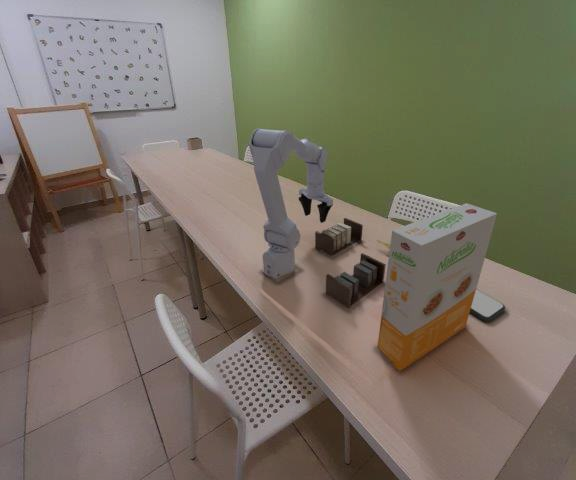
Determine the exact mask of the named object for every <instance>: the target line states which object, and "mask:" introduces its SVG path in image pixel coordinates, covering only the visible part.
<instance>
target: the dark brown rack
mask: <svg viewBox="0 0 576 480" xmlns="http://www.w3.org/2000/svg"><path fill="white" fill-rule="evenodd" d="M343 224H345V225H348V226H350V227H351V239H350V243H348V244H346V243H345V235H346V230H345V229H343V228H340V227H338V226H337V224H335V225H331V227H328V228H326V229H323V230H322V231H321V232H320V231H318V230H316V231H315V233H314V234H315V235H314V250H315V251H317V252H323V253H325V254H326V255H329V256H330V257H333V256H335V255H337V254H339V253H341V252H342V251H345V250H347V249H348V248H350V247H351V246H353V245H355V244H360V243H362V241H363V240H362V238H363V228H364V225H363V224H361V223H359V222H357V221H354V220H352V219H350V218H347V217H344V218H343Z"/></svg>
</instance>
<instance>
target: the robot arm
mask: <svg viewBox="0 0 576 480" xmlns="http://www.w3.org/2000/svg"><path fill="white" fill-rule="evenodd" d="M248 149H249V151H250V155H251V158H252V161H253V171H254V175H255V178H256V179H255V180H256V182H257V185H258V188H259V192H260V196H261V200H262V203H263V206H264V208H265V213H266V216H267V220H266V221H265V222H264V224H263V225H262V227H263V237H264V238H263V239H264V242H266V243H267V244H268V247H269V248H268V249H267V250H266V251H264V252H263V253H262V263H263V265H262V267H263V269H262V273H264V275H266V276H267V277H269V278H272V279H274V280H278V279H279V278H282V277H284V276H286V275H290V274H291V273H293V272H294V271H295V269H296V262H295V260H296V259H295V255H296V254H295V249H296V248H297V247H298V246H299V244H300V241H301V232H300V230H299V229H298V228H297V224H296V223H295V222H294V221H293V220H292V219H290V218H289V217H288V214H287V209H286V205H285V200H284V197H283V196H284V195H283V192H282V188H281V184H280V180H279V176H278V171H279V170H281V169H282V168H283V167H284V165H285V163H286V161H287V160H288V159H289V156H290V154H291V152H292V151H293V152H294V155H295V156H296V157H297V158H299V159H301V160H303V163H304V164H306V188H299V189H298V195H299V196H298V201H299V202H300V204H301V207H302V209H303V214H304V217H307V216H309V215H311V212H312V202H313V201H318V202H320V203H319V204H317V205H316V207H317V209H318V215H319V223H320V224H323V223H325V222H326V221H327V218H328V214H329V213H330V210H331V209H332V207H333V205H334V198H331V197H330V196H328V195H327V194H326V191H325V170H326V168H327V162H328V158H329V157H328V156H329V154H328V150H327V148H326V147H323V146H318V145H317V143H315V142H311V139H310V138H306V137H305V138H303V139H299V138H298V137H297V136H295V135H294V132H292V131H289V130H287V129H286V130H276V129H266V128H261V127H259V128H258V127H257V128H255V129H254V130H253V132H252V133H251V135H250V139H249V141H248Z"/></svg>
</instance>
